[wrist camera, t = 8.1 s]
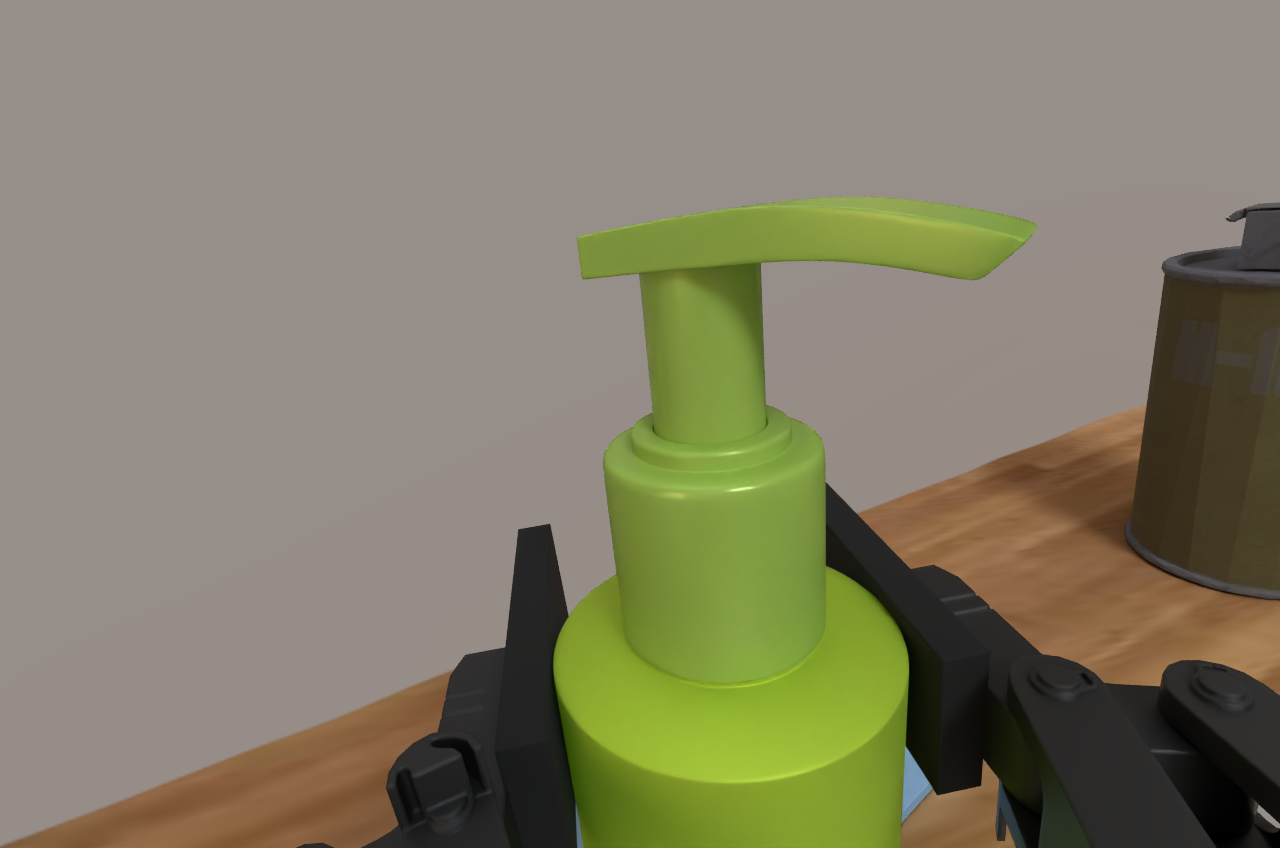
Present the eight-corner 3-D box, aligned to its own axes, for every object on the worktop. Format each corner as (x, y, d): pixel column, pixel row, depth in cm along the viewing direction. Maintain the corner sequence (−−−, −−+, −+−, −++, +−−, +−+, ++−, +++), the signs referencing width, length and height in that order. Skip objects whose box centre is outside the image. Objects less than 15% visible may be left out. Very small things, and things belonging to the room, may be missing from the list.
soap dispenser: (899, 1445, 11) (1005, 192, 4) (581, 1147, 15) (377, 244, 8) (958, 1064, 15) (1053, 172, 9) (703, 913, 19) (636, 211, 13)
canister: (1092, 550, 41) (1133, 222, 34) (1166, 494, 45) (1213, 198, 39) (1336, 632, 32) (1457, 211, 25) (1395, 552, 37) (1508, 182, 30)
